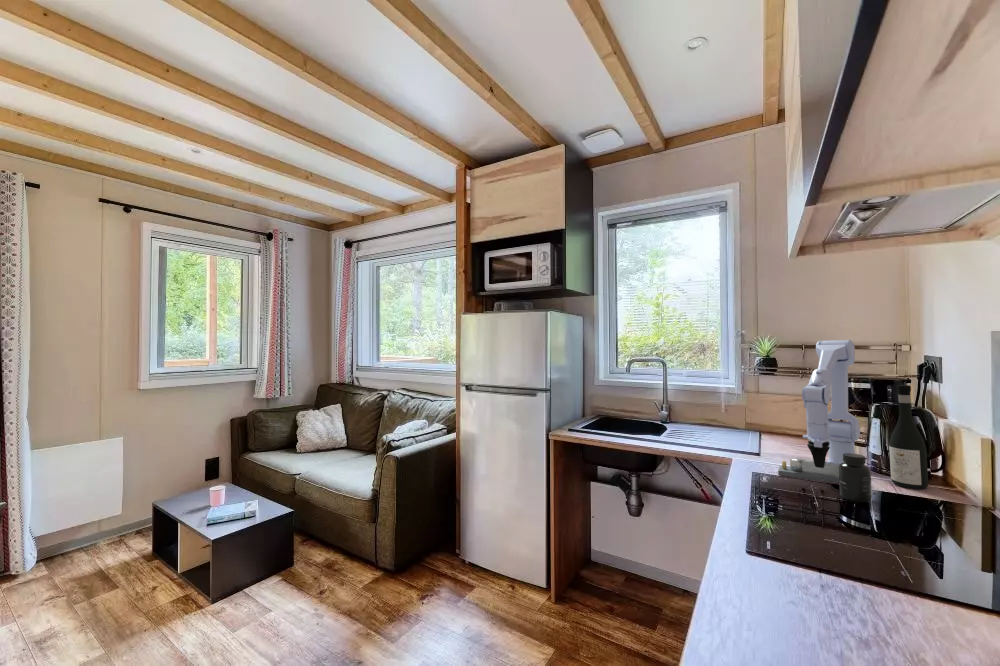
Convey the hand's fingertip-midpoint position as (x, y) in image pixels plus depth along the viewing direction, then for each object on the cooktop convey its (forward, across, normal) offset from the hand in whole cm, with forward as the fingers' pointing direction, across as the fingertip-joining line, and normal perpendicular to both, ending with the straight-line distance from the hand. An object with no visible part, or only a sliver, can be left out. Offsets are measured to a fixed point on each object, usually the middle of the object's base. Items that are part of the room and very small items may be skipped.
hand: (819, 465), depth 136 cm
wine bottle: (+4, -5, +21) cm, 22 cm away
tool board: (+4, 0, 0) cm, 4 cm away
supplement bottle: (+4, +17, +8) cm, 19 cm away
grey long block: (+2, 0, -1) cm, 2 cm away
